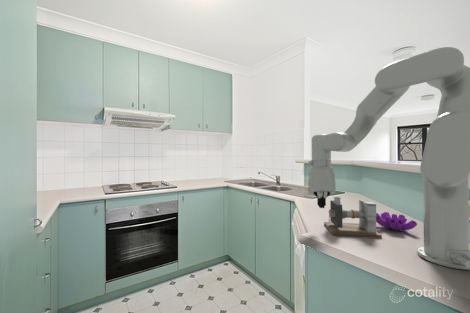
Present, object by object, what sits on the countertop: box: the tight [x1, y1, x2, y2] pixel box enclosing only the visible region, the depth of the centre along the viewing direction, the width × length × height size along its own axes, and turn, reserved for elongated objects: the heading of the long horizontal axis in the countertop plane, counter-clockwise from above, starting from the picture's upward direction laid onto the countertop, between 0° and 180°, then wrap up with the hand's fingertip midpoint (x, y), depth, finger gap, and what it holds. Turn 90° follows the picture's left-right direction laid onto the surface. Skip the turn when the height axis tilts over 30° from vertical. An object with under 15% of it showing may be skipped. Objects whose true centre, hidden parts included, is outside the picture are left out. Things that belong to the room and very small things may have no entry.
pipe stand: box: [323, 199, 383, 239], centre depth 87 cm, size 14×17×12 cm
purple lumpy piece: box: [376, 211, 418, 231], centre depth 90 cm, size 11×15×10 cm
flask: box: [333, 196, 344, 219], centre depth 109 cm, size 7×7×10 cm
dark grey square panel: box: [330, 200, 343, 228], centre depth 88 cm, size 9×2×9 cm, turn 171°
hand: (321, 207), depth 89 cm, fingers closed
